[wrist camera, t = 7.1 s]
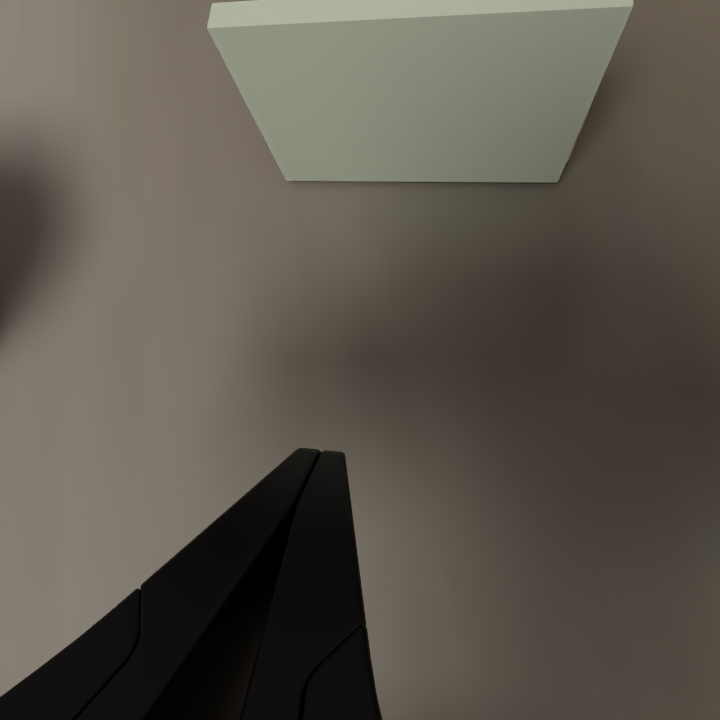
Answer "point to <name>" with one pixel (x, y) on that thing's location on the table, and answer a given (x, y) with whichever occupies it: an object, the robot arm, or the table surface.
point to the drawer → (419, 83)
